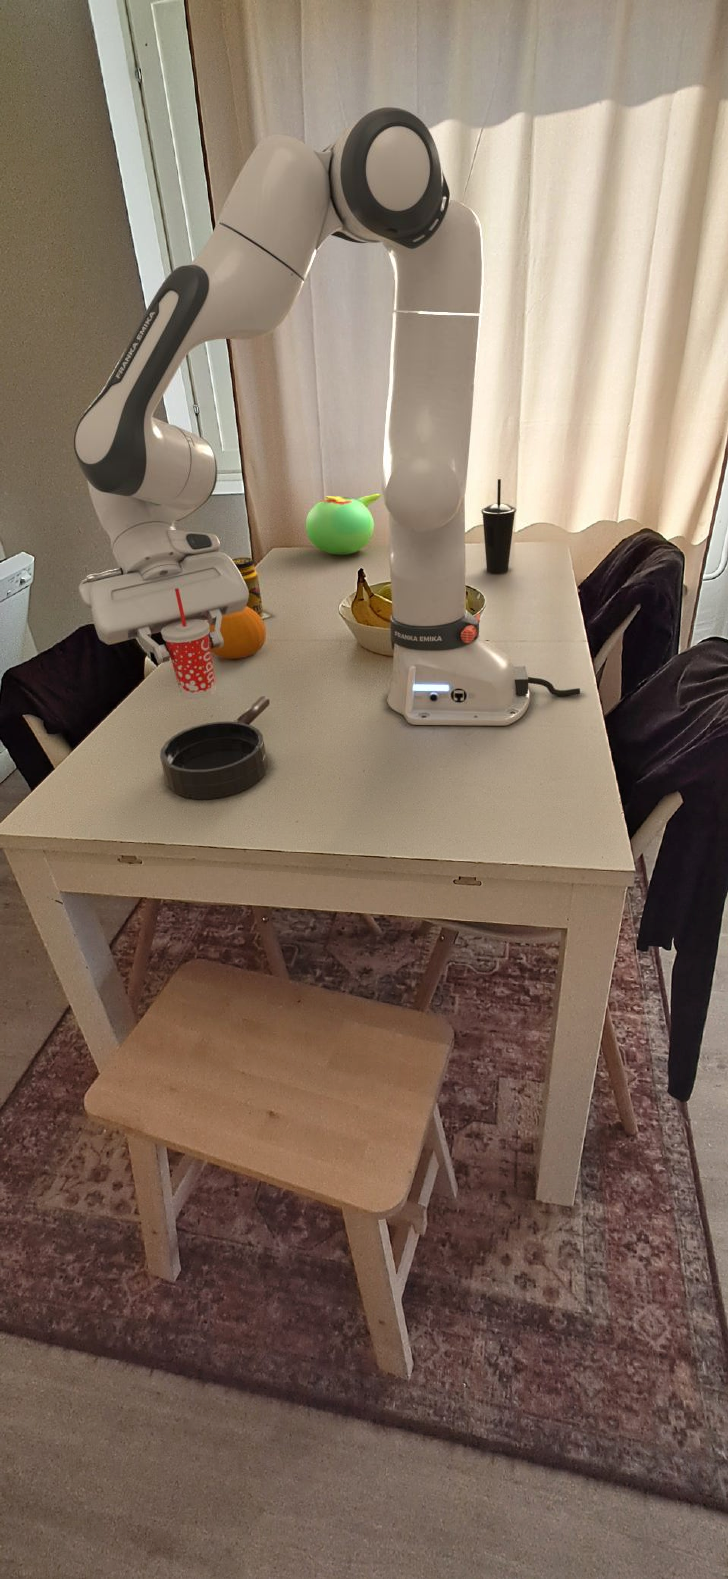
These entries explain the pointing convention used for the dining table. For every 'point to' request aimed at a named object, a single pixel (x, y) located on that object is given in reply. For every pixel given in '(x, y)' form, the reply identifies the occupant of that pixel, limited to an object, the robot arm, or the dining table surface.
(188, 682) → the beverage cup
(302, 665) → the dining table surface
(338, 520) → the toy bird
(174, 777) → the skillet
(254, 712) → the skillet handle
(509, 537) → the drinking cup
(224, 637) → the fruit
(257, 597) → the condiment
